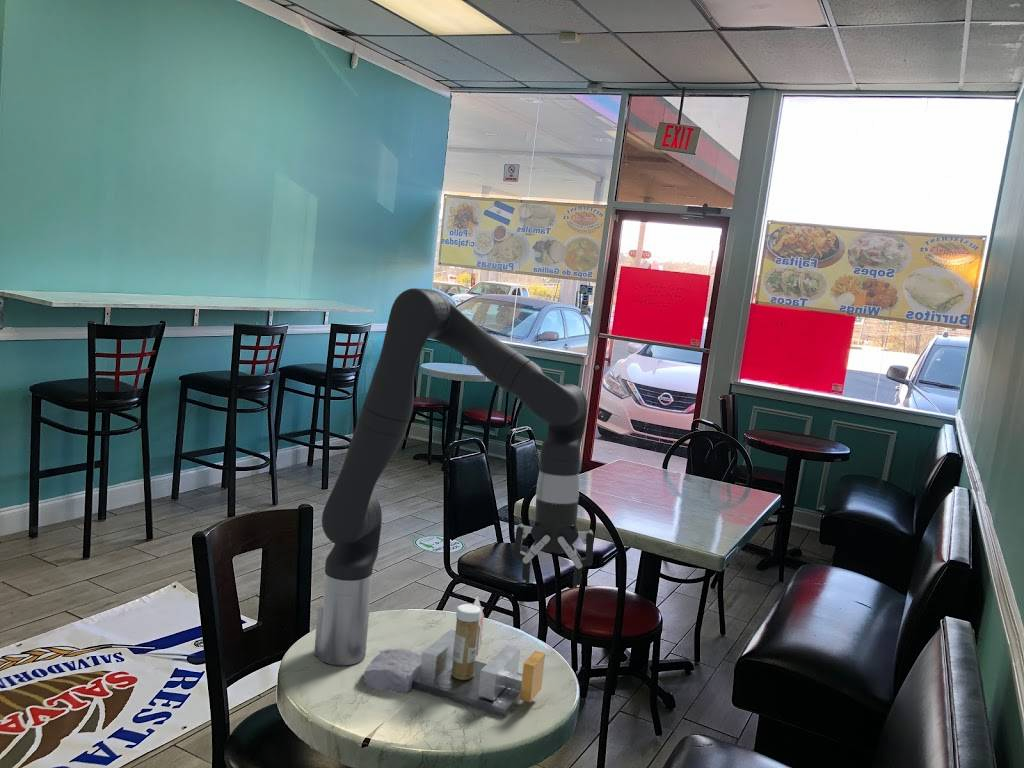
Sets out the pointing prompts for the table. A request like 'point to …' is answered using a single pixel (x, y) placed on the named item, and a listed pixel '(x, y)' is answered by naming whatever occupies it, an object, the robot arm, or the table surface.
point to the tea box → (479, 625)
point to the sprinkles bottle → (465, 641)
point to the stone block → (393, 670)
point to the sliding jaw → (512, 674)
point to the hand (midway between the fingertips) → (551, 584)
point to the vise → (444, 685)
